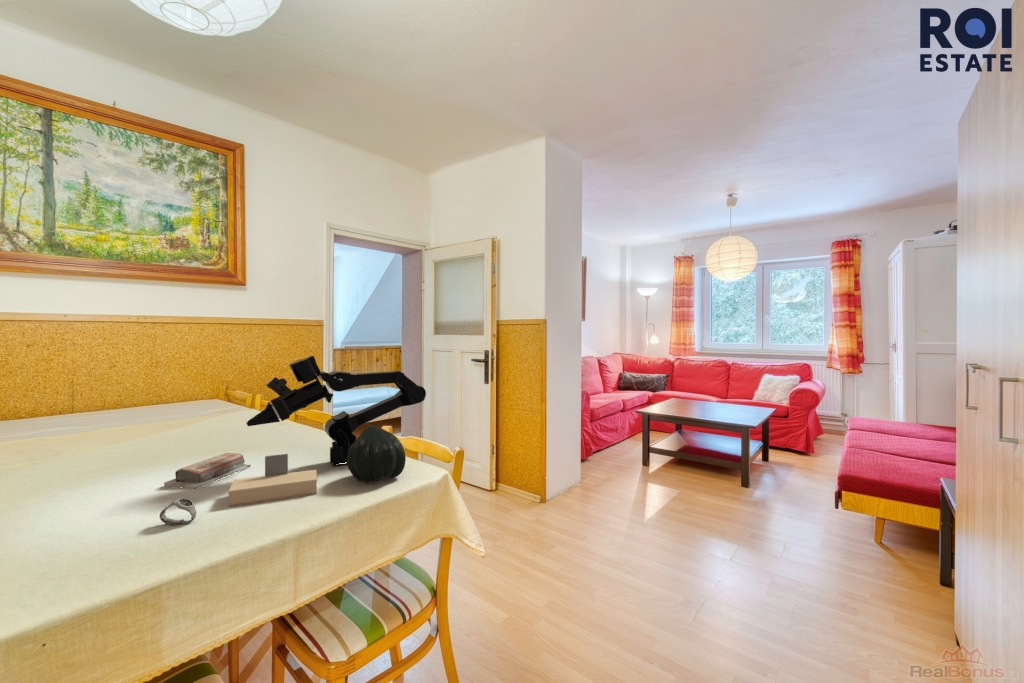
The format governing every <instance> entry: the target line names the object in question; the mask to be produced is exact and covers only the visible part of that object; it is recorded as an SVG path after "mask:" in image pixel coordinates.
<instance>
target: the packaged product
mask: <svg viewBox="0 0 1024 683" xmlns="http://www.w3.org/2000/svg"><path fill="white" fill-rule="evenodd" d="M250 466H251V467H252V465H251V464H247V463H245V457H244V455H243V454H241V453H232V452H227V453H223V454H220V455H217V456H213V457H211V458H208V459H204V460H201V461H198V462H195V463H192V464H190V465H187V466H183V467H181V468H179V469H177V470H175V473H174V474H175V478H173V479H170V480H167V481H164V482H163V484H164V487H165V486H167V487H166V488H173V487H182V488H181V489H190V488H199V487H202V486H204V485H206V486H207V484H208V485H210V484H213V483H212V482H214V481H216V480H218V479H221V478H223V477H226V476H228V475H231V474H233V473H235V472H238V471H240V472H242V471H245V470H247V469H246V468H248V467H250ZM251 467H250V468H251ZM244 469H245V470H244ZM248 469H249V468H248ZM241 470H242V471H241ZM238 473H239V472H238ZM233 475H234V474H233ZM231 476H232V475H231ZM226 478H227V477H226ZM223 479H224V478H223ZM221 480H222V479H221ZM218 481H219V480H218ZM216 482H217V481H216ZM209 483H210V484H209ZM214 483H215V482H214ZM204 487H205V486H204ZM202 488H203V487H202ZM199 489H200V488H199Z"/></svg>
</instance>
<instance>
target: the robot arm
mask: <svg viewBox="0 0 1024 683" xmlns="http://www.w3.org/2000/svg"><path fill="white" fill-rule="evenodd" d="M288 366H289V369H291V372H292V373H293V375H294V378H295V379H296V382H298V383H301V382H302V384H303V386H301V387H299V388H294V389H291V388H290V387H289V386H287V383H288V381H287V380H286V379H285V378H284V377H282V378H279V379H278V377H276V376H275V377H273V379H271V380H270V381H269V382H268V383H267V384H265V385H266V387H267V388H269V389H270V390H272V391H273V392H275V393H276V394H277V395H278V397H275V398H273V399H271V400H270V401H267V404H266V407H265V408H264V409H263V410H262V411H260V412H259V413H257V414H256V415H254V416H252V417H251V418H250V419H249V420H247V422H246V426H247V427H252V426H260V425H267V424H273V423H280V422H283V421H285V420H287V419H289V418H290V417H291V415H293V414H294V413H296V412H298V411H301V410H302V409H305V408H308V406H310V405H312V404H316V402H319V401H321V400H323V399H325V401H326V402H328V403H329V404H331V403H332V398H333V396H334V393H332V392H329V390H328V388H329V389H331V390H332V391H335V392H344V391H347V390H351V389H354V388H356V387H363V386H373V385H384V384H385V385H386V384H394V385H395V386H396V388H398V389H399V390H398V392H396V393H394V394H393V395H392V396H389V397H387V398H386V399H383V400H381V401H378V402H376V403H374V404H372V405H370V406H368V407H366V408H363V409H361V410H359V411H357V412H353V413H349V412H346V411H345V410H343V411H341V412H339V413H338V414H336V415H331V416H330V418H329V419H328V420H326V422H325V425H324V432H325V433H326V435H327V436H328V437H329V438H331V440H332V442H331V446H330V447H329V463H331V466H332V465H336V464H339V463H345V462H347V457H348V452H349V450H350V447H351V446H352V444H353V443H354V442H355V440H356V439H357V438H358V436H356V435H355V434H353V433H354V432H355V431H356V430H357V429H358V428H359V427H361V426H362V425H365V424H367V423H369V422H370V421H373V420H375V419H378V418H379V417H382V416H383V415H386V414H388V413H390V412H392V411H395V410H397V409H400V408H402V407H405V406H406V407H407V406H413V405H417V404H421V403H422V402H424V401H425V399H426V395H427V391H426V389H425V388H424V387H423V386H421V385H419V384H418V385H417V383H415V382H414V381H413V380H411V379H410V377H408V376H407V375H406V374H405V373H404V372H403V371H400V370H391V371H390V370H389V371H375V372H359V373H358V372H356V373H355V372H347V371H343V370H342V371H339V370H333V371H330V372H326V371H321V370H320V368H319V365H318V364H317V361H316V358H315V356H314V355H311V356H308V357H304V358H302V359H297V360H295V361H293V362H291V363H289V364H288ZM320 380H322V381H323V382H325V384H322V383H321V381H320ZM304 384H305V385H304Z"/></svg>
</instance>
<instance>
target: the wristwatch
mask: <svg viewBox="0 0 1024 683" xmlns="http://www.w3.org/2000/svg"><path fill="white" fill-rule="evenodd" d="M173 505H174V506H176V507H177V508H178V509H180V510H184V511H187V512H188V513H189V514H190V515H191V516H190V519H188V520H186V519H185V520H184V519H171V518H169V517H167V516H166V511H167V509H169V508H170V507H172V506H173ZM196 517H197V509H196V506H195V503H193V501H192V500H191V499H187V498H178V499H175V500H174V501H172V502H171V503H169V505H168V506H166V507H165V508H163V509H162V510H161V511H160V513H159V519H160V520H161V522H162V523H163V524H165V525H166V526H167V525H168V526H171V527H175V526H185V525H188V524H190V523H191V522H192V521H194V520H195V518H196Z"/></svg>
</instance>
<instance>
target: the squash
mask: <svg viewBox="0 0 1024 683" xmlns="http://www.w3.org/2000/svg"><path fill="white" fill-rule="evenodd" d="M346 465H347V468H348V470H349V472H350V473H351V475H352V476H353V477H354V479H356V480H357V481H361V482H364V483H366V484H367V483H369V484H370V483H373V482H376V480H377V481H381V480H382V479H383V478H386V479H390V478H391V479H394V478H397V477H398V476H400V475H401V474H402V473H403V471H404V469H405V466H406V452H405V449H404V446H403V444H402V442H401V440H400V439H399V438H398V437H397V436H396V435H395V434H393V433H392V432H389V431H387V430H386V429H384V428H381V427H378V426H377V425H372V424H369V425H368V426H367V427H365V428H364V429H363V431H362V432H361V433H360V434H359V436H357V438H356V440H355V442H354V443H353V444H352V446H351V447H350V450H349V452H348V457H347V464H346Z"/></svg>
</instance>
